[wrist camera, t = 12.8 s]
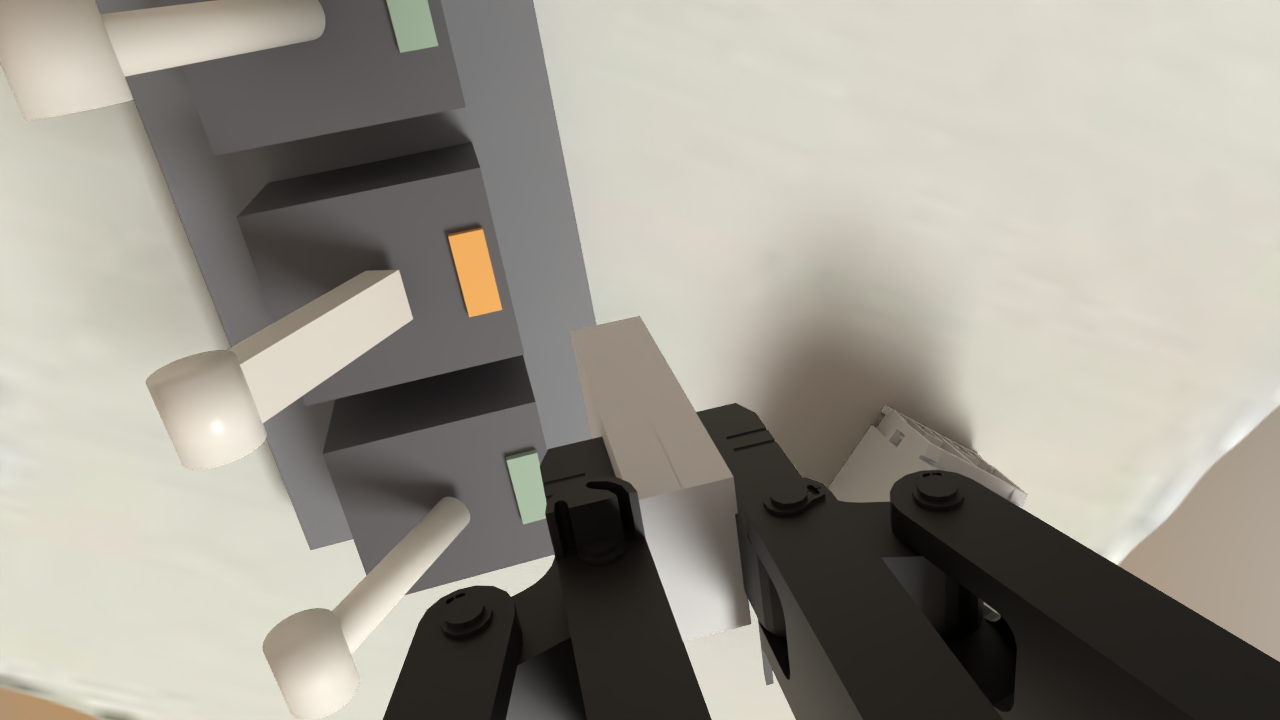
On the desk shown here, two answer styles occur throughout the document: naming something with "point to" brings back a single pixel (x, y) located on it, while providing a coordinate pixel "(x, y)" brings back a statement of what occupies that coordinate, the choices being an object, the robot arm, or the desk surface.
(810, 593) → the robot arm
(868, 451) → the circuit breaker
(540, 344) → the breaker board
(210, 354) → the handle
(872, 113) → the desk surface
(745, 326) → the desk surface
